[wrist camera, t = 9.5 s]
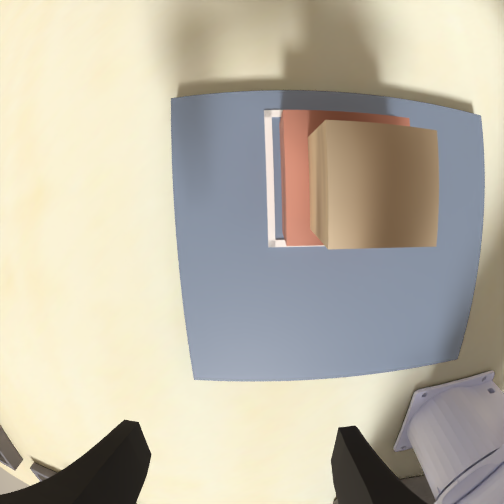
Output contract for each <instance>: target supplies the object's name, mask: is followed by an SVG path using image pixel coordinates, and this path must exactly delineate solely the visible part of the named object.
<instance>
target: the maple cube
mask: <svg viewBox="0 0 504 504" xmlns="http://www.w3.org/2000/svg"><path fill="white" fill-rule="evenodd" d="M308 157H309V191H310V229H311V231H312V232H313V233H314V234H315V235H316V236H317V237H318V238H319V240H320V241H321V242H322V243H323V244H324V245H325V246H326V248H327V249H365V248H403V247H436V245H437V232H438V213H439V156H438V137H437V130H431V129H425V128H417V127H410V126H402V125H393V124H383V123H371V122H358V121H340V120H325V121H324V122H323V123H322V124H321V125H320V126H319V127H318V128H317V129H316V130H315V131H314V132H313V133H312V134H310V135H309V136H308Z"/></svg>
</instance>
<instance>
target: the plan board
mask: <svg viewBox="0 0 504 504" xmlns="http://www.w3.org/2000/svg"><path fill="white" fill-rule="evenodd" d="M283 110H324V111H344V112H358V113H370V114H380V115H389V116H397V117H405V118H409V120H410V127H417V128H425V129H431V130H437V137H438V156H439V213H438V232H437V245H436V247H403V248H365V249H327V248H326V246H325V245H318V246H286V242H285V239H284V236H283V233H282V189H281V155H280V129H279V123H280V119H281V115H282V111H283ZM171 139H172V171H173V192H174V209H175V224H176V237H177V249H178V260H179V270H180V280H181V289H182V298H183V307H184V315H185V322H186V330H187V337H188V344H189V351H190V358H191V364H192V370H193V376H194V380H212V381H293V380H312V379H327V378H339V377H350V376H359V375H368V374H376V373H384V372H391V371H397V370H404V369H410V368H416V367H421V366H427V365H432V364H437V363H442V362H447V361H451V360H456V359H458V355H459V352H460V349H461V345H462V342H463V338H464V334H465V330H466V326H467V322H468V318H469V314H470V309H471V305H472V300H473V295H474V290H475V284H476V278H477V272H478V265H479V258H480V250H481V241H482V230H483V216H484V189H485V172H484V145H483V132H482V121H481V116H480V115H476V114H473V113H469V112H465V111H461V110H457V109H452V108H448V107H443V106H439V105H434V104H429V103H423V102H418V101H412V100H406V99H399V98H392V97H385V96H376V95H367V94H357V93H345V92H330V91H304V90H267V91H241V92H226V93H213V94H203V95H194V96H185V97H178V98H171Z"/></svg>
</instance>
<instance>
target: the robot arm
mask: <svg viewBox="0 0 504 504" xmlns="http://www.w3.org/2000/svg"><path fill="white" fill-rule="evenodd" d="M494 375H495V372H494V371H493V370H491V371H488V372H485V373H481V374H478V375H475V376H471V377H468V378H464V379H460V380H457V381H453V382H449V383H445V384H441V385H436V386H432V387H427V388H423V389H419V390H417V391H415V392H414V394H413V397H412V400H411V403H410V406H409V409H408V411H407V414H406V417H405V420H404V422H403V425H402V428H401V430H400V433H399V435H398V438H397V440H396V443H395V445H394V448H393V449H394V451H396V452H398V451H402V450H406V449H410V448H413V450H414V452H415V454H416V456H417V458H418V461H419V463H420V465H421V467H422V470H423V472H424V474H425V477H426V479H427V481H428V483H429V486H430V488H431V491H432V493H433V495H434V498H435V500H436V502H435V503H434V504H504V393H503V392H502V390H501V389H500V388H499V387H498V386H497V385H496V384H495V383H494V382H493V381H492V380H493V378H494ZM150 459H151V452H150V450H149V448H148V445H147V443H146V440H145V438H144V435H143V432H142V430H141V427H140V424H139V422H134V421H129V420H124V421H123V422H121V423H120V424H119V425H118V426H117V427H116V428H114V429H113V430H112V431H111V432H110V433H109V434H108V435H107V436H106V437H104V438H103V439H102V440H101V441H100V442H99V443H97V444H96V445H95V446H94V447H93V448H91V449H90V450H89V451H88V452H87V453H85V454H84V455H83V456H82V457H80V458H79V459H77V460H76V461H75V462H73V463H72V464H71V465H69V466H68V467H66V468H65V469H63V470H61V471H60V472H58V473H56V474H55V475H53V476H51V477H49V478H47V479H45V480H43V481H41V482H39V483H36V484H34V485H32V486H29V487H27V488H24V489H21V490H18V491H14V492H11V493H7V494H2V495H0V504H136V501H137V499H138V496H139V494H140V491H141V489H142V486H143V484H144V481H145V478H146V476H147V472H148V468H149V463H150ZM331 465H332V474H333V483H334V487H335V491H336V496H337V500H338V504H428V503H426V502H425V501H424V500H422V499H421V498H420V497H418V496H417V495H416V494H415V493H414V492H412V491H411V490H410V489H409V488H408V487H407V486H406V485H405V484H404V483H403V482H402V481H401V480H400V479H399V478H398V477H397V476H396V475H395V474H394V473H393V472H392V471H391V470H390V469H389V468H388V467H387V466H386V464H385V463H384V462H383V461H382V460H381V459H380V457H379V456H378V455H377V454H376V452H375V451H374V450H373V449H372V447H371V446H370V445H369V443H368V442H367V441H366V439H365V438H364V436H363V435H362V434H361V432H360V431H359V429H358V428H357V427H356V426H349V427H341V428H338V433H337V437H336V442H335V446H334V450H333V454H332V458H331Z"/></svg>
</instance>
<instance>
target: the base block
mask: <svg viewBox="0 0 504 504" xmlns="http://www.w3.org/2000/svg"><path fill="white" fill-rule="evenodd" d="M325 120H340V121H358V122H371V123H383V124H393V125H402V126H410V120H409V118H405V117H397V116H389V115H380V114H370V113H358V112H344V111H324V110H283V111H282V115H281V119H280V123H279V129H280V155H281V189H282V233H283V236H284V239H285V242H286V246H318V245H324V244H323V243H322V242H321V241H320V240H319V238H318V237H317V236H316V235H315V234H314V233H313V232H312V231H311V229H310V191H309V157H308V136H309V135H310V134H312V133H313V132H314V131H315V130H316V129H317V128H318V127H319V126H320V125H321V124H322V123H323V122H324V121H325Z"/></svg>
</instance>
